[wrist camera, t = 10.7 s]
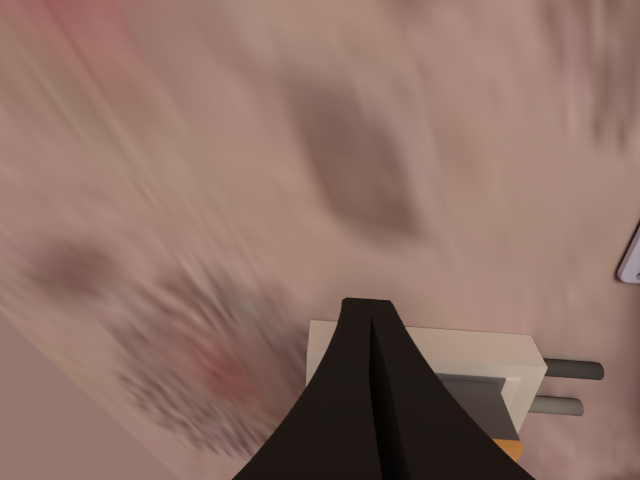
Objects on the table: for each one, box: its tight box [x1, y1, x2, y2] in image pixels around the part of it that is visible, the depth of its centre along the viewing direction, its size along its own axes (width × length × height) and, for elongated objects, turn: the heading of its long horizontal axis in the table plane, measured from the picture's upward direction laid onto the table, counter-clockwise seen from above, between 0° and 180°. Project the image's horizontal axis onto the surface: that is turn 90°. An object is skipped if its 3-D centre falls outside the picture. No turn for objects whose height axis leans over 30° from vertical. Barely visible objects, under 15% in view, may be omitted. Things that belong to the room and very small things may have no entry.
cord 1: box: [543, 359, 604, 380], centre depth 25 cm, size 5×1×1 cm, turn 87°
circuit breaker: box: [306, 320, 548, 434], centre depth 25 cm, size 13×8×3 cm, turn 87°
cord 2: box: [528, 396, 584, 416], centre depth 26 cm, size 5×1×1 cm, turn 87°
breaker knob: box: [441, 379, 523, 463], centre depth 22 cm, size 3×4×4 cm, turn 178°
